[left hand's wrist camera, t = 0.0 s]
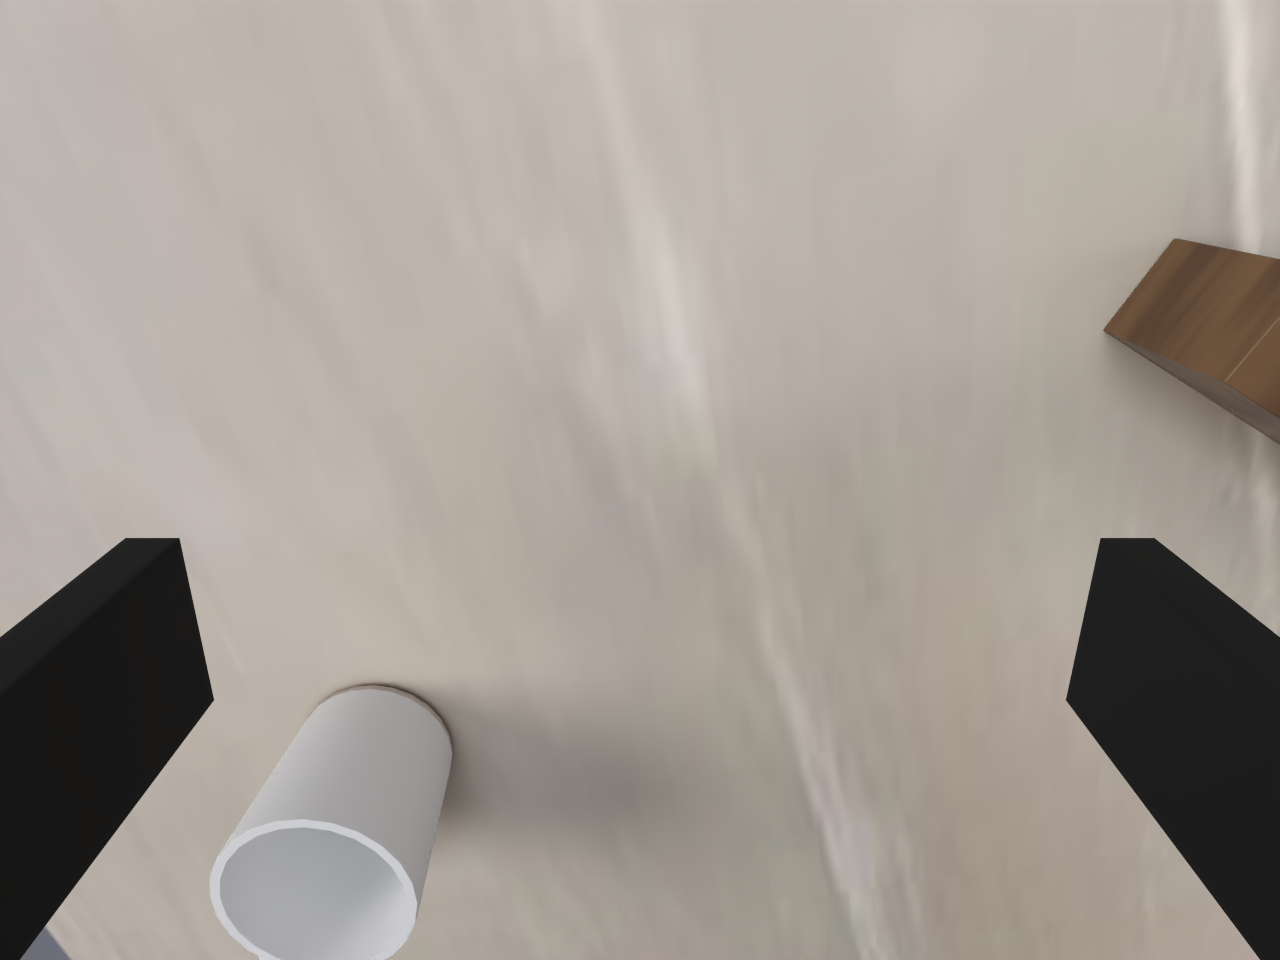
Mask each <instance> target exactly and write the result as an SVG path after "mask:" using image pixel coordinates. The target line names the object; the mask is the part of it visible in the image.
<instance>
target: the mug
mask: <svg viewBox="0 0 1280 960" xmlns="http://www.w3.org/2000/svg"><path fill="white" fill-rule="evenodd" d="M452 755H453V749H452V744H451V739H450V735H449V733H448V731H447V729H446V728H445V726H444V724H443V722H442V720H441V719H440V717H439V716H438V715H437V714H436V713H435V712H434V711H433V710H432V709H431V708H430V707H429V706H428V705H427V704H426V703H424V702H423V701H421V700H419V699H418V698H416V697H415V696H413V695H412V694H409V693H406V692H403V691H401V690H398V689H395V688H391V687H384V686H377V685H369V686H357V687H352V688H349V689H346V690H343V691H340V692H337V693H334V694H333V695H331V696H330V697H328V698H327V699H325V700H324V701H322V702H321V703H319V705H318V706H317V707H316V708H315V709H314V711H313V712H312V713H311V714H310V715H309V717H308V719H307V720H306V722H305V723H304V725H303V726H302V728H301V729H300V731H299V733H298V734H297V736H296V737H295V739H294V740H293V742H292V743H291V745H290V746H289V748H288V749H287V751H286V752H285V754H284V755H283V757H282V758H281V760H280V761H279V763H278V765H277V766H276V768H275V769H274V771H273V772H272V774H271V775H270V777H269V778H268V780H267V781H266V783H265V784H264V786H263V787H262V789H261V790H260V792H259V794H258V795H257V797H256V798H255V800H254V801H253V803H252V804H251V806H250V807H249V809H248V810H247V812H246V813H245V815H244V816H243V818H242V819H241V821H240V823H239V824H238V826H237V827H236V829H235V830H234V832H233V833H232V835H231V836H230V838H229V839H228V841H227V842H226V844H225V845H224V847H223V848H222V850H221V852H220V853H219V855H218V857H217V859H216V862H215V864H214V867H213V870H212V872H211V875H210V898H211V901H212V904H213V906H214V909H215V912H216V915H217V917H218V919H219V920H220V921H221V923H222V924H223V926H224V927H225V928H226V930H227V931H228V932H229V934H230V935H231V936H232V937H233V938H234V939H236V940H237V941H238V942H239V943H240V944H241V945H243V946H244V947H245V948H246V949H247V950H249V951H250V952H252V953H254V954H256V955H257V956H258V957H259V960H384V959H386V958H388V957H390V956H392V955H393V954H394V953H395V952H396V951H397V950H398V949H399V948H400V947H401V946H402V945H403V944H404V943H405V942H406V940H407V938H408V936H409V934H410V932H411V930H412V928H413V926H414V924H415V922H416V919H417V914H418V910H419V906H420V901H421V897H422V892H423V888H424V884H425V879H426V875H427V870H428V866H429V862H430V857H431V853H432V848H433V844H434V839H435V835H436V831H437V826H438V822H439V817H440V813H441V809H442V804H443V800H444V795H445V791H446V786H447V782H448V778H449V773H450V769H451V764H452Z"/></svg>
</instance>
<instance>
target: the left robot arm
mask: <svg viewBox="0 0 1280 960" xmlns="http://www.w3.org/2000/svg"><path fill="white" fill-rule="evenodd" d="M213 701H214V698H213V693H212V689H211V684H210V679H209V674H208V670H207V665H206V660H205V656H204V651H203V646H202V642H201V637H200V632H199V628H198V623H197V618H196V614H195V609H194V604H193V600H192V595H191V590H190V586H189V581H188V576H187V572H186V567H185V562H184V558H183V553H182V548H181V544H180V539H179V538H125V539H124V540H123V541H121V542H120V543H119V544H118V545H116V546H115V547H114V548H113V549H111V550H110V551H109V552H107V553H106V554H105V555H104V556H102V557H101V558H100V559H99V560H97V561H96V562H95V563H94V564H92V565H91V566H90V567H89V568H87V569H86V570H85V571H83V572H82V573H81V574H80V575H78V576H77V577H76V578H75V579H73V580H72V581H71V582H70V583H68V584H67V585H66V586H65V587H63V588H62V589H61V590H59V591H58V592H57V593H56V594H54V595H53V596H52V597H51V598H49V599H48V600H47V601H46V602H44V603H43V604H42V605H41V606H39V607H38V608H37V609H35V610H34V611H33V612H32V613H30V614H29V615H28V616H27V617H25V618H24V619H23V620H22V621H20V622H19V623H18V624H17V625H15V626H14V627H13V628H11V629H10V630H9V631H8V632H6V633H5V634H4V635H3V636H1V637H0V960H20V959H21V957H22V956H23V955H24V953H25V952H26V951H27V949H28V948H29V947H30V945H31V944H32V943H33V941H34V940H35V939H36V937H37V936H38V935H39V933H40V932H41V931H42V929H43V928H44V927H45V925H46V924H47V923H48V921H49V920H50V919H51V917H52V916H53V915H54V913H55V912H56V911H57V909H58V908H59V907H60V905H61V904H62V903H63V901H64V900H65V899H66V897H67V896H68V895H69V893H70V892H71V891H72V889H73V888H74V887H75V885H76V884H77V882H78V881H79V880H80V878H81V877H82V876H83V874H84V873H85V872H86V870H87V869H88V868H89V866H90V865H91V864H92V862H93V861H94V860H95V858H96V857H97V856H98V854H99V853H100V852H101V850H102V849H103V848H104V846H105V845H106V844H107V842H108V841H109V840H110V838H111V837H112V836H113V834H114V833H115V832H116V830H117V829H118V828H119V826H120V825H121V824H122V822H123V821H124V820H125V818H126V817H127V816H128V814H129V813H130V812H131V810H132V809H133V808H134V806H135V805H136V804H137V802H138V801H139V800H140V798H141V797H142V796H143V794H144V793H145V792H146V790H147V789H148V788H149V786H150V785H151V784H152V782H153V781H154V780H155V778H156V777H157V776H158V774H159V773H160V772H161V770H162V769H163V768H164V766H165V765H166V764H167V762H168V761H169V760H170V758H171V757H172V756H173V754H174V753H175V752H176V750H177V749H178V748H179V746H180V745H181V744H182V742H183V741H184V740H185V738H186V737H187V736H188V734H189V733H190V732H191V730H192V729H193V727H194V726H195V725H196V723H197V722H198V721H199V719H200V718H201V717H202V715H203V714H204V713H205V711H206V710H207V709H208V707H209V706H210V705H211V703H212V702H213ZM1066 701H1067V702H1068V703H1069V705H1070V706H1071V707H1072V709H1073V710H1074V711H1075V713H1076V714H1077V715H1078V717H1079V718H1080V719H1081V721H1082V722H1083V723H1084V725H1085V726H1086V727H1087V729H1088V730H1089V732H1090V733H1091V734H1092V736H1093V737H1094V738H1095V740H1096V741H1097V742H1098V744H1099V745H1100V746H1101V748H1102V749H1103V750H1104V752H1105V753H1106V754H1107V756H1108V757H1109V758H1110V760H1111V761H1112V762H1113V764H1114V765H1115V766H1116V768H1117V769H1118V770H1119V772H1120V773H1121V774H1122V776H1123V777H1124V778H1125V780H1126V781H1127V782H1128V784H1129V785H1130V786H1131V788H1132V789H1133V790H1134V792H1135V793H1136V794H1137V796H1138V797H1139V798H1140V800H1141V801H1142V802H1143V804H1144V805H1145V806H1146V808H1147V809H1148V810H1149V812H1150V813H1151V814H1152V816H1153V817H1154V818H1155V820H1156V821H1157V822H1158V824H1159V825H1160V826H1161V828H1162V829H1163V830H1164V832H1165V833H1166V834H1167V836H1168V837H1169V838H1170V840H1171V841H1172V842H1173V844H1174V845H1175V846H1176V848H1177V849H1178V850H1179V852H1180V853H1181V854H1182V856H1183V857H1184V858H1185V860H1186V861H1187V862H1188V864H1189V865H1190V866H1191V868H1192V869H1193V870H1194V872H1195V873H1196V874H1197V876H1198V877H1199V878H1200V880H1201V881H1202V882H1203V884H1204V885H1205V887H1206V888H1207V889H1208V891H1209V892H1210V893H1211V895H1212V896H1213V897H1214V899H1215V900H1216V901H1217V903H1218V904H1219V905H1220V907H1221V908H1222V909H1223V911H1224V912H1225V913H1226V915H1227V916H1228V917H1229V919H1230V920H1231V921H1232V923H1233V924H1234V925H1235V927H1236V928H1237V929H1238V931H1239V932H1240V933H1241V935H1242V936H1243V937H1244V939H1245V940H1246V941H1247V943H1248V944H1249V945H1250V947H1251V948H1252V949H1253V951H1254V952H1255V953H1256V955H1257V956H1258V957H1259V959H1260V960H1280V637H1279V636H1277V635H1276V634H1275V633H1274V632H1272V631H1271V630H1270V629H1269V628H1267V627H1266V626H1265V625H1263V624H1262V623H1261V622H1260V621H1258V620H1257V619H1256V618H1255V617H1253V616H1252V615H1251V614H1250V613H1248V612H1247V611H1246V610H1245V609H1243V608H1242V607H1241V606H1239V605H1238V604H1237V603H1236V602H1234V601H1233V600H1232V599H1231V598H1229V597H1228V596H1227V595H1226V594H1224V593H1223V592H1222V591H1221V590H1219V589H1218V588H1217V587H1215V586H1214V585H1213V584H1212V583H1210V582H1209V581H1208V580H1207V579H1205V578H1204V577H1203V576H1202V575H1200V574H1199V573H1198V572H1197V571H1195V570H1194V569H1193V568H1191V567H1190V566H1189V565H1188V564H1186V563H1185V562H1184V561H1183V560H1181V559H1180V558H1179V557H1178V556H1176V555H1175V554H1174V553H1173V552H1171V551H1170V550H1169V549H1167V548H1166V547H1165V546H1164V545H1162V544H1161V543H1160V542H1159V541H1157V540H1156V539H1155V538H1101V539H1100V544H1099V548H1098V553H1097V558H1096V562H1095V567H1094V572H1093V576H1092V581H1091V586H1090V590H1089V595H1088V600H1087V604H1086V609H1085V614H1084V618H1083V623H1082V628H1081V632H1080V637H1079V642H1078V646H1077V651H1076V656H1075V660H1074V665H1073V670H1072V674H1071V679H1070V684H1069V689H1068V693H1067V698H1066Z"/></svg>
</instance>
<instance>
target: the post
mask: <svg viewBox="0 0 1280 960" xmlns="http://www.w3.org/2000/svg"><path fill="white" fill-rule="evenodd" d="M1104 331H1105V332H1106V333H1108V334H1109V335H1111V336H1112V337H1114V338H1115V339H1117V340H1119V341H1120V342H1122V343H1123V344H1125V345H1126V346H1128V347H1129V348H1131V349H1133V350H1134V351H1136V352H1137V353H1139V354H1140V355H1142V356H1143V357H1145V358H1146V359H1148V360H1150V361H1151V362H1153V363H1154V364H1156V365H1157V366H1159V367H1160V368H1162V369H1164V370H1165V371H1167V372H1168V373H1170V374H1171V375H1173V376H1174V377H1176V378H1177V379H1179V380H1181V381H1182V382H1184V383H1185V384H1187V385H1188V386H1190V387H1191V388H1193V389H1195V390H1196V391H1198V392H1199V393H1201V394H1202V395H1204V396H1205V397H1207V398H1208V399H1210V400H1212V401H1213V402H1215V403H1216V404H1218V405H1219V406H1221V407H1222V408H1224V409H1226V410H1227V411H1229V412H1230V413H1232V414H1233V415H1235V416H1236V417H1238V418H1240V419H1241V420H1243V421H1244V422H1246V423H1247V424H1249V425H1250V426H1252V427H1253V428H1255V429H1257V430H1258V431H1260V432H1261V433H1263V434H1264V435H1266V436H1267V437H1269V438H1271V439H1272V440H1274V441H1275V442H1277V443H1278V444H1280V259H1276V258H1271V257H1266V256H1261V255H1256V254H1251V253H1246V252H1241V251H1236V250H1231V249H1226V248H1221V247H1216V246H1211V245H1206V244H1201V243H1196V242H1191V241H1186V240H1181V239H1174V240H1173V241H1172V243H1171V244H1170V245H1169V247H1168V248H1167V249H1166V250H1165V252H1164V253H1163V254H1162V256H1161V257H1160V258H1159V259H1158V261H1157V262H1156V263H1155V265H1154V266H1153V267H1152V268H1151V270H1150V271H1149V272H1148V274H1147V275H1146V276H1145V277H1144V279H1143V280H1142V281H1141V283H1140V284H1139V285H1138V286H1137V288H1136V289H1135V290H1134V292H1133V293H1132V294H1131V295H1130V297H1129V298H1128V299H1127V301H1126V302H1125V303H1124V304H1123V306H1122V307H1121V308H1120V310H1119V311H1118V312H1117V313H1116V315H1115V316H1114V317H1113V319H1112V320H1111V321H1110V322H1109V324H1108V325H1107V326H1106V328H1105V329H1104Z"/></svg>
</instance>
